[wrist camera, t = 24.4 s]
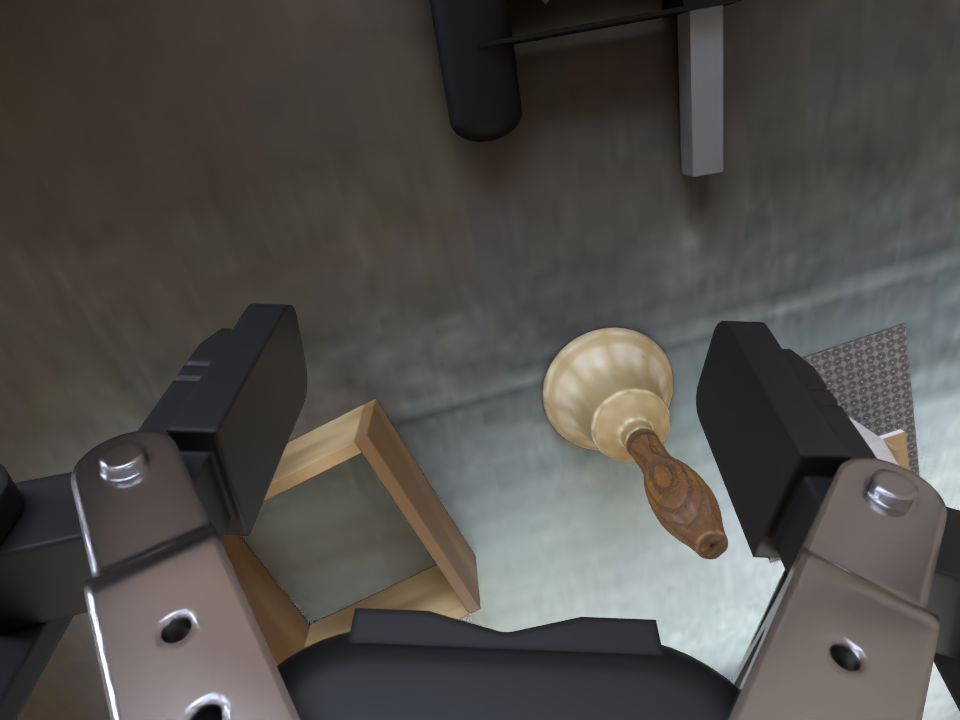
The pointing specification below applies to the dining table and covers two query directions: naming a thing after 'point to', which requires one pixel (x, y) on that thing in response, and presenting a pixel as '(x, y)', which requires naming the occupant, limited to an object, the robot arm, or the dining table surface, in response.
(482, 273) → the dining table surface
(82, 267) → the dining table surface
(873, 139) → the dining table surface
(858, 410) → the architectural model
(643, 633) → the robot arm
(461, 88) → the toy submachine gun
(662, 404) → the hand bell
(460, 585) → the crate
